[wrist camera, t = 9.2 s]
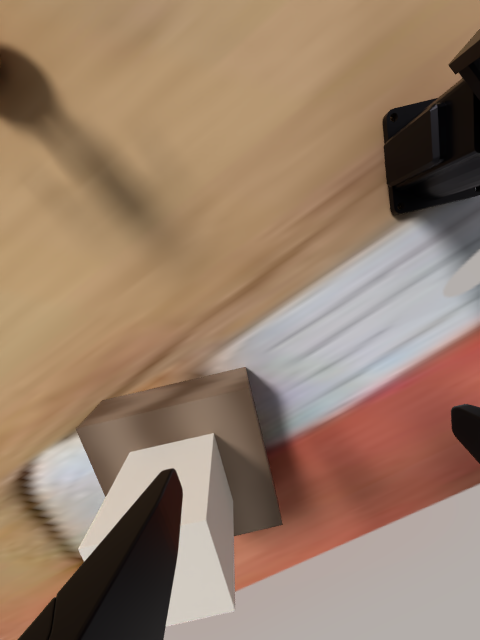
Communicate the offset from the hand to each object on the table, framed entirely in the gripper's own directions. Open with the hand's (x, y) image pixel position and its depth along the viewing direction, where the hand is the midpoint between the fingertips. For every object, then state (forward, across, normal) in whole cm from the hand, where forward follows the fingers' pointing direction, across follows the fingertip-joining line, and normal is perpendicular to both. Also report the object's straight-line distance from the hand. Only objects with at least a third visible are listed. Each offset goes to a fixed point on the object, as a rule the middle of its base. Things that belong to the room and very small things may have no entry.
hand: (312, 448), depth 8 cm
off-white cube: (+8, +8, +8) cm, 14 cm away
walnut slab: (+12, +8, +8) cm, 17 cm away
